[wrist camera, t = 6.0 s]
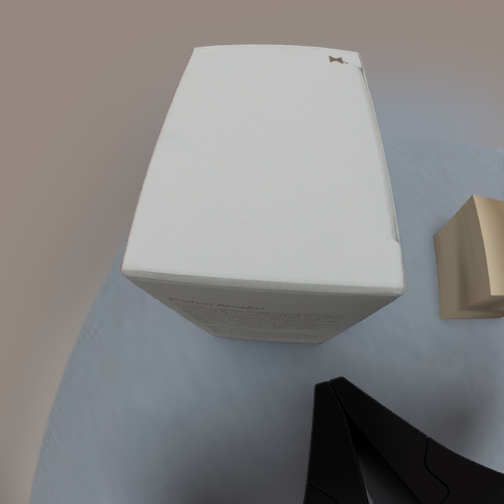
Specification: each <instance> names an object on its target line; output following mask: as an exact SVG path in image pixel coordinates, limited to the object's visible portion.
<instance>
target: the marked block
mask: <svg viewBox="0 0 504 504" xmlns="http://www.w3.org/2000/svg"><path fill="white" fill-rule="evenodd" d="M433 238H434V246H435V254H436V263H437V274H438V287H439V304H440V319H471V318H501V317H504V202H503V201H499V200H495V199H490V198H486V197H481V196H477V195H472V196H471V197H470V199H469V200H468V201H467V202H466V203H465V204H464V205H463V206H462V207H461V209H460V210H459V211H458V212H457V213H456V214H455V215H454V216H453V217H452V218H451V219H450V220H449V221H448V223H447V224H446V225H445V226H444V227H443V228H442V229H441V230H440V231H439V232H438V233H437V234H436V235H435V236H434V237H433Z"/></svg>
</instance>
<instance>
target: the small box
mask: <svg viewBox="0 0 504 504" xmlns="http://www.w3.org/2000/svg"><path fill="white" fill-rule="evenodd" d="M120 271H121V272H122V274H123V275H124V276H125V277H126V278H127V279H128V280H130V281H131V282H132V283H134V284H135V285H137V286H138V287H140V288H141V289H143V290H144V291H146V292H147V293H148V294H150V295H151V296H153V297H154V298H156V299H157V300H159V301H160V302H162V303H163V304H165V305H166V306H168V307H169V308H171V309H173V310H174V311H176V312H177V313H178V314H180V315H181V316H183V317H184V318H186V319H187V320H189V321H191V322H192V323H194V324H195V325H197V326H199V327H200V328H202V329H204V330H205V331H207V332H208V333H210V334H212V335H213V336H216V337H223V338H233V339H243V340H255V341H269V342H285V343H310V344H321V343H323V342H324V341H326V340H328V339H330V338H332V337H334V336H335V335H337V334H339V333H341V332H343V331H344V330H346V329H348V328H349V327H351V326H353V325H355V324H356V323H358V322H360V321H362V320H363V319H365V318H367V317H368V316H370V315H372V314H373V313H375V312H376V311H378V310H380V309H381V308H383V307H384V306H386V305H388V304H389V303H391V302H392V301H394V300H396V299H397V298H398V297H400V296H401V295H403V293H404V292H405V290H406V282H405V273H404V266H403V258H402V251H401V245H400V239H399V233H398V226H397V220H396V213H395V207H394V201H393V195H392V189H391V183H390V178H389V173H388V168H387V163H386V158H385V153H384V148H383V144H382V139H381V135H380V131H379V127H378V123H377V118H376V114H375V111H374V107H373V104H372V100H371V95H370V92H369V88H368V84H367V80H366V76H365V72H364V66H363V63H362V58H361V55H360V54H359V53H356V52H352V51H345V50H338V49H330V48H321V47H309V46H292V45H223V46H208V47H198V48H194V49H193V51H192V53H191V56H190V58H189V60H188V62H187V64H186V67H185V69H184V71H183V74H182V76H181V78H180V81H179V83H178V85H177V88H176V90H175V93H174V95H173V98H172V100H171V103H170V106H169V108H168V111H167V114H166V116H165V119H164V121H163V124H162V127H161V130H160V132H159V135H158V138H157V141H156V144H155V147H154V150H153V153H152V156H151V159H150V162H149V165H148V168H147V171H146V175H145V178H144V181H143V184H142V188H141V191H140V195H139V199H138V202H137V205H136V209H135V212H134V216H133V220H132V223H131V227H130V231H129V235H128V239H127V244H126V248H125V252H124V257H123V260H122V264H121V268H120Z"/></svg>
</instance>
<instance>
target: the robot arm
mask: <svg viewBox="0 0 504 504" xmlns="http://www.w3.org/2000/svg"><path fill="white" fill-rule="evenodd" d="M306 483H307V484H306V487H305V495H304V501H303V504H369V502H368V498H367V494H366V490H365V486H366V488H367V490H368V492H369V494H370V496H371V498H372V500H373V502H374V504H504V474H503V473H500V472H497V471H495V470H492V469H490V468H488V467H485V466H483V465H480V464H478V463H476V462H474V461H471V460H469V459H467V458H465V457H463V456H461V455H459V454H457V453H455V452H453V451H451V450H449V449H448V448H446V447H444V446H443V445H441V444H439V443H438V442H436V441H435V440H433V439H432V438H430V437H428V438H427V435H425V434H424V433H422V432H421V431H420V430H418V429H417V428H415V427H414V426H412V425H411V424H409V423H408V422H406V421H405V420H403V419H402V418H400V417H399V416H398V415H396V414H395V413H393V412H392V411H390V410H389V409H387V408H386V407H385V406H383V405H382V404H380V403H379V402H377V401H376V400H375V399H373V398H372V397H370V396H369V395H368V394H366V393H365V392H363V391H362V390H361V389H359V388H358V387H356V386H355V385H354V384H352V383H351V382H350V381H348V380H347V379H345V378H344V377H338V378H335V379H331V380H330V381H329V382H328V381H325V382H322V383H318V384H316V385H315V388H314V404H313V418H312V430H311V442H310V452H309V462H308V471H307V480H306ZM364 484H365V486H364Z"/></svg>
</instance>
